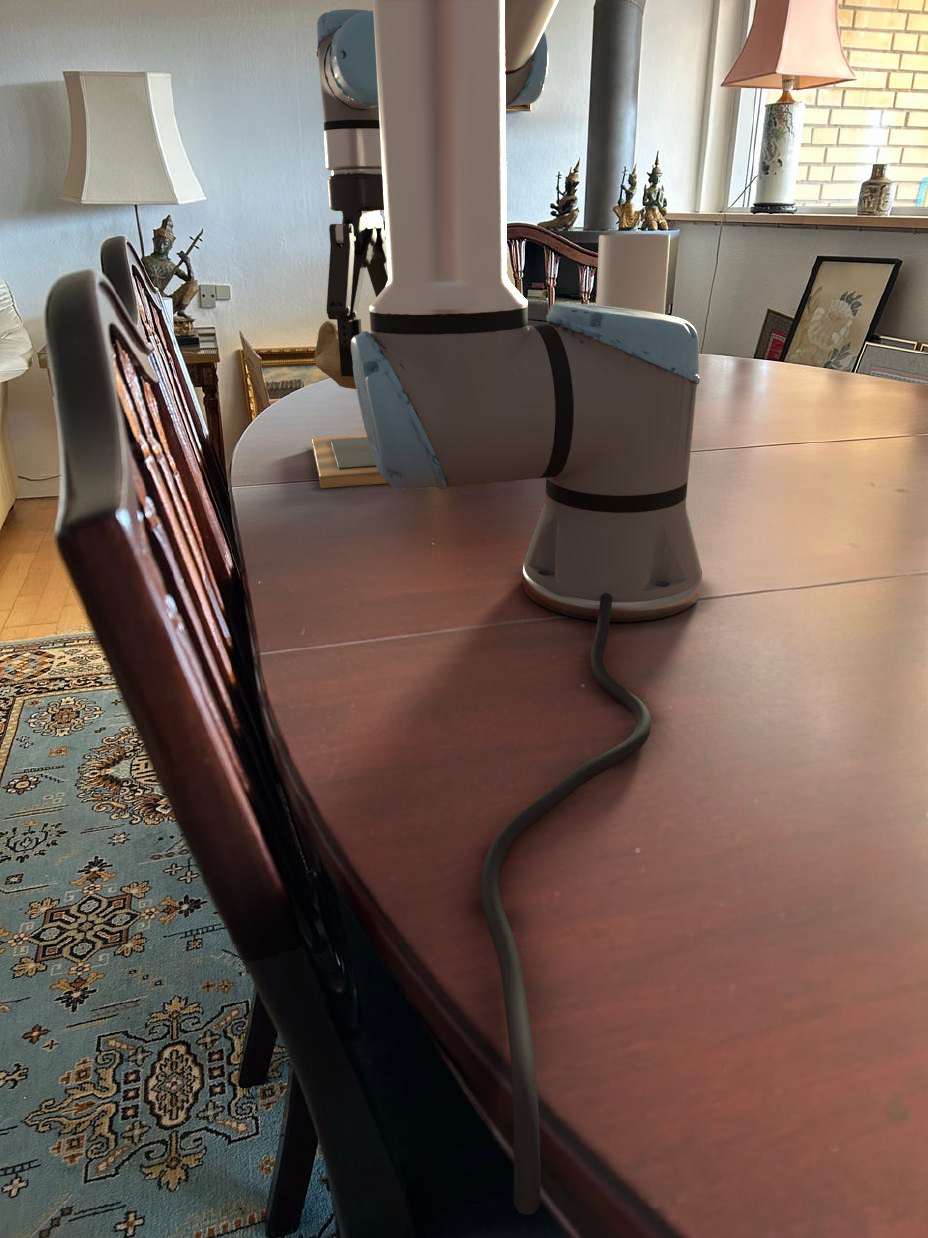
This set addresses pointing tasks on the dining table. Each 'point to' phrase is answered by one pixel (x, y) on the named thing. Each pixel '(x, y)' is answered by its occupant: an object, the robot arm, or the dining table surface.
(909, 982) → the dining table surface
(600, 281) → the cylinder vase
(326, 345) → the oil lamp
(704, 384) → the dining table surface
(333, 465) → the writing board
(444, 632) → the dining table surface
